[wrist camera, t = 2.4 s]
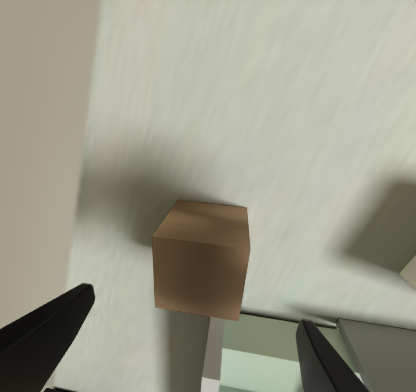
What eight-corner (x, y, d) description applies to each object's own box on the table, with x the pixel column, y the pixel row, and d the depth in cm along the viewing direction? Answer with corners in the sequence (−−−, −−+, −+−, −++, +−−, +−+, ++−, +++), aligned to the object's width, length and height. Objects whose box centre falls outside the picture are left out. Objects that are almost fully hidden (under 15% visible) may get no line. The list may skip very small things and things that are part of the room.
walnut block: (177, 255, 15) (155, 307, 11) (178, 199, 14) (151, 236, 10) (238, 264, 15) (238, 321, 11) (246, 207, 13) (250, 249, 9)
